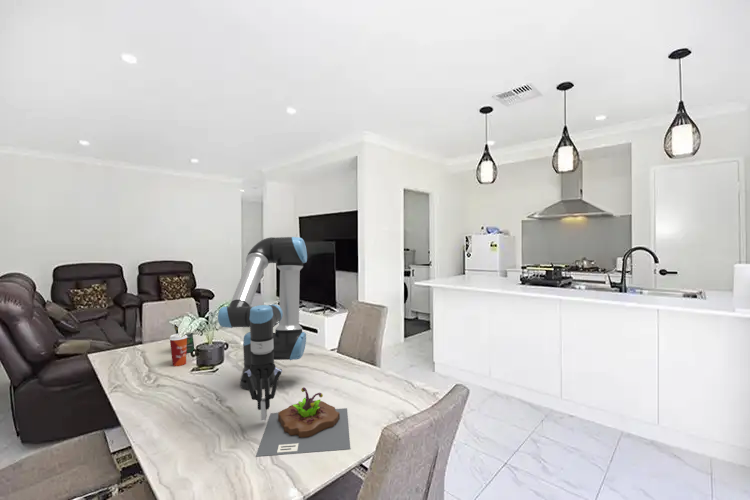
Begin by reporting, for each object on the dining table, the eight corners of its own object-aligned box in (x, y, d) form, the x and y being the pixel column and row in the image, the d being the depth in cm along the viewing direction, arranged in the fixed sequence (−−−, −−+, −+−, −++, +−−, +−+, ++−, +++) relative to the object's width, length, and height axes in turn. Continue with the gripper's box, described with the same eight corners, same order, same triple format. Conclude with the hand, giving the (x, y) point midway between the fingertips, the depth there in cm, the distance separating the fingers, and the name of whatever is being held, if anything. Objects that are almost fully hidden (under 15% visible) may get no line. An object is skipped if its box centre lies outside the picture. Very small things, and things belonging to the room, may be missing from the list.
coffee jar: (177, 355, 199) (176, 322, 198) (173, 352, 205) (172, 319, 204) (196, 351, 205) (195, 319, 205) (192, 348, 211) (191, 316, 210)
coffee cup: (180, 367, 181) (179, 337, 180) (166, 366, 183) (165, 337, 182) (192, 361, 189) (191, 333, 188) (178, 360, 191) (177, 332, 190)
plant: (317, 401, 142) (316, 373, 142) (347, 420, 127) (347, 389, 127) (268, 419, 129) (268, 388, 129) (296, 443, 114) (295, 408, 114)
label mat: (255, 456, 108) (255, 456, 108) (270, 413, 134) (270, 413, 134) (350, 449, 111) (350, 448, 111) (347, 408, 137) (347, 407, 137)
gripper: (239, 355, 121) (241, 425, 122) (280, 353, 122) (281, 422, 123) (245, 348, 128) (247, 414, 129) (283, 346, 130) (284, 411, 131)
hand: (264, 418), depth 126 cm, fingers closed
